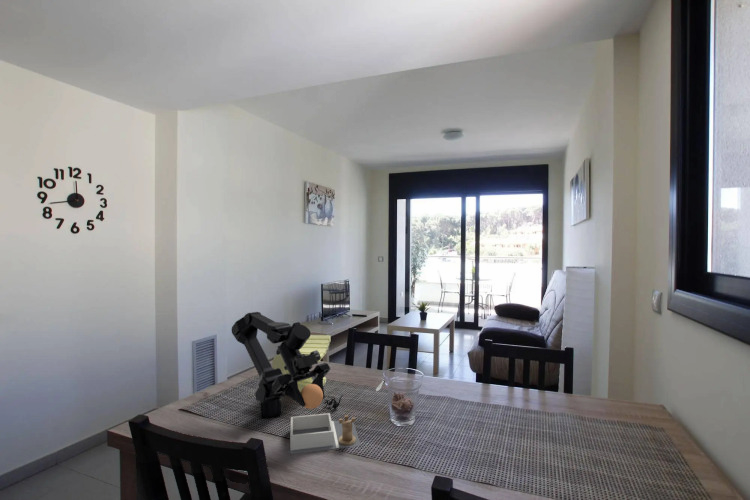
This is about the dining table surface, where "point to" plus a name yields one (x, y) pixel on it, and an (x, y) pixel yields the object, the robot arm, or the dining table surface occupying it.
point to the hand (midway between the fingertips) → (314, 402)
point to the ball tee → (347, 431)
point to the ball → (312, 396)
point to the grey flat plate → (337, 434)
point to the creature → (333, 402)
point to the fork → (379, 386)
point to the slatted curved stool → (311, 345)
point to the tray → (311, 438)
